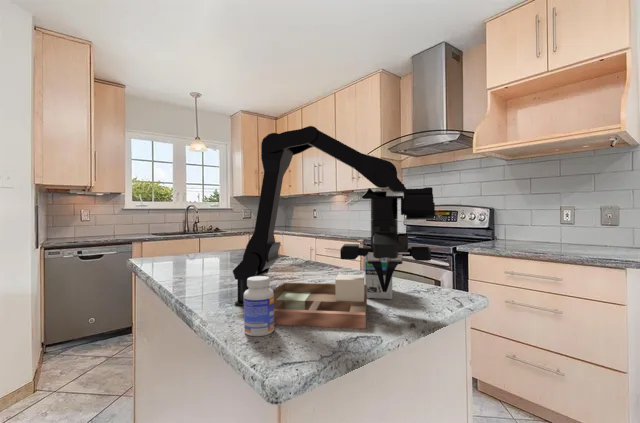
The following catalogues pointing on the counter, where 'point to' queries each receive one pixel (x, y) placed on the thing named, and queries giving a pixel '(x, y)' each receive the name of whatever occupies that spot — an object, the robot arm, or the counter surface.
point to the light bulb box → (376, 281)
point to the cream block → (349, 288)
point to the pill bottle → (258, 307)
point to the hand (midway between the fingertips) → (384, 291)
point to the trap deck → (316, 306)
